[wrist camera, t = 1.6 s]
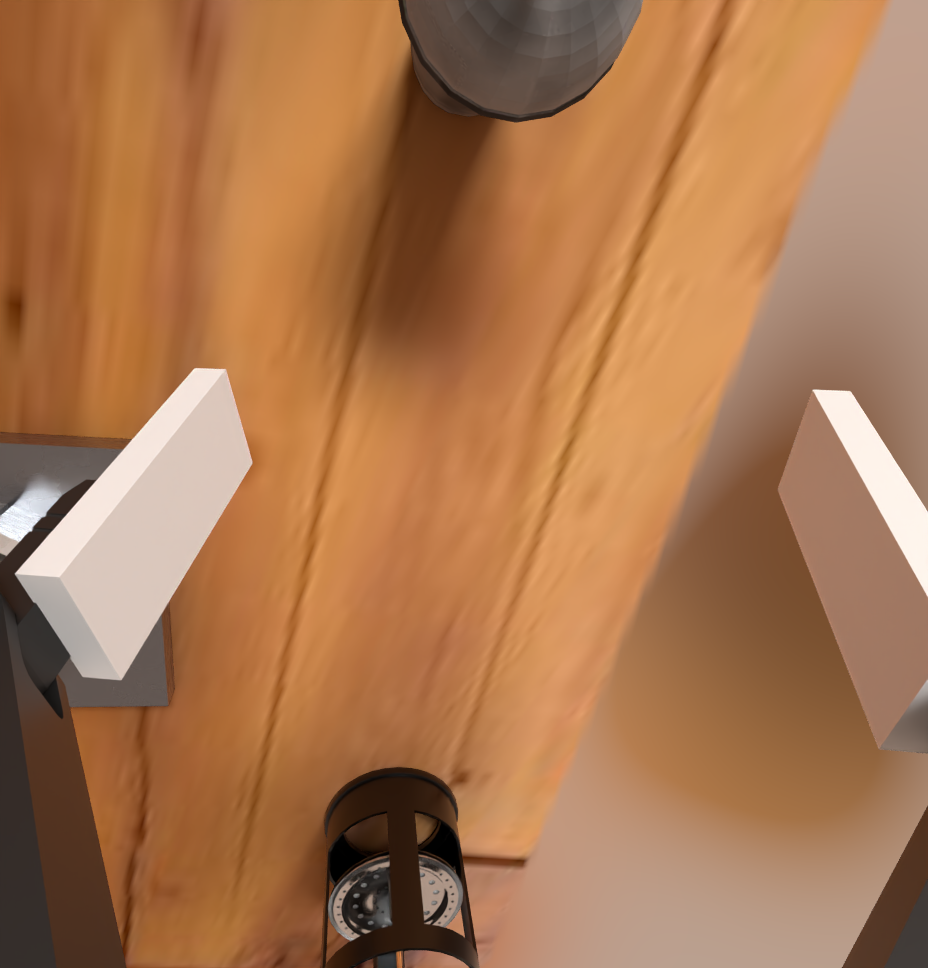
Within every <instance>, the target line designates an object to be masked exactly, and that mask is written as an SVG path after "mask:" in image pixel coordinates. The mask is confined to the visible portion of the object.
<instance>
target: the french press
mask: <svg viewBox="0 0 928 968" xmlns="http://www.w3.org/2000/svg"><path fill="white" fill-rule="evenodd" d="M385 813H387V818H388V840H389V851H384V852H381V853H378V854H372V853H368V852H365V851H363V850H361V849H359V848H357V847H356V846H354V845H353V844H352V843H351V842H350V841H349V840H348V838H347V837H346V835H345V832H346V831H347V830H349V829H350V828H351V827H352V826H354V825H356V824H358V823H359V822H361V821H363V820H365V819H368V818H370V817H373V816H376V815H380V814H385ZM415 813H420V814H424V815H427V816H430V817H432V818H435V819H437V820H438V821H439V825H438V827H437V829H436V831H435V832H434V834H433V835H432V836H431V837H430V838H429V839H428V840H427V841H426V842H424V843H423V844H422V845H420V846H418V845H417V834H416V823H415ZM457 821H458V808H457V803H456V799H455V797H454V795H453V793H452V791H451V789H450V788H449V787H448V786H447V785H446V784H445V783H444V782H443V781H442V780H440V779H439V778H437V777H436V776H434V775H432V774H430V773H427V772H425V771H421V770H417V769H413V768H400V767H397V768H385V769H381V770H377V771H372V772H370V773H367V774H365V775H362V776H360V777H358V778H356V779H354V780H353V781H351V782H349V783H348V784H347V785H345V786H344V787H343V788H342V789H341V790H340V791H339V792H338V793H337V794H336V795H335V797H334V798H333V799H332V801H331V803H330V805H329V807H328V809H327V812H326V816H325V823H324V824H325V834H326V837H327V848H326V868H325V888H324V908H323V928H322V947H321V967H320V968H354V967H355V966H357V965H359V964H361V963H362V962H365V961H367V960H370V959H372V958H373V963H374V968H405V965H404V951H408V950H427V951H434V952H441V953H444V954H447V955H450V956H453V957H455V958H457V959H459V960H461V961H463V962H464V963H465V964H466V965H468V966H469V968H480V967H479V961H478V955H477V948H476V942H475V936H474V929H473V923H472V917H471V910H470V904H469V897H468V891H467V885H466V878H465V872H464V866H463V859H462V853H461V847H460V840H459V834H458V828H457ZM454 870H455V871H456V873H455V871H454ZM329 881H331V882H332V883H333V885H334V888H333V890H332V893H331V897H330V900H329ZM460 907H461V912H462V919H463V926H464V933H465V938H464V937H463V936H462V935H460V934H458V933H456V932H455V931H453V930H450V929H447V928H445V927H446V926H447V925H448V924H449V923H450V922H451V921H452V920H453V919H454V918H455V916H456V914H457V913H458V911H459V910H460ZM328 915H329V918H330V921H331V924H332V925H333V927H334V928H335V929H336V931H337V932H338V933H340V934H341V935H342V936H343V937H345V938H346V939H348V940H350V942H348V943H347V944H346V945H344V946H343V947H342V948H341V949H339V950H338V951H337V952H336V953H335V954H334V955H333V956H332V957H331V959H330V960H329V961H328V962H327V964H326V950H327V927H328Z"/></svg>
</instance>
